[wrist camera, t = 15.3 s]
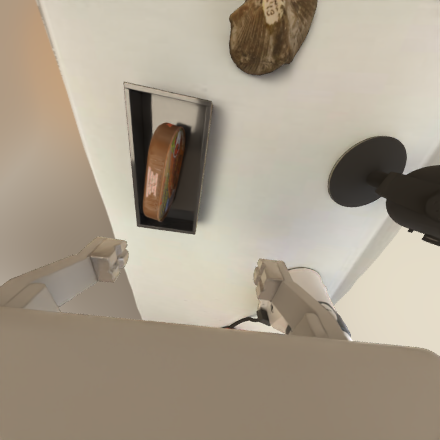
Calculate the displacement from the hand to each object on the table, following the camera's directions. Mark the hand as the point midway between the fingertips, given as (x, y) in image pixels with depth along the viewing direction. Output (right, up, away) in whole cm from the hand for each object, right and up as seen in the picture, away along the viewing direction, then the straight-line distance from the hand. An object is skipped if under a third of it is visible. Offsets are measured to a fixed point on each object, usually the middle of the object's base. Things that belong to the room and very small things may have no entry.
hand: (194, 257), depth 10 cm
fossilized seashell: (+8, +26, +11) cm, 29 cm away
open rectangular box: (-7, +12, +20) cm, 24 cm away
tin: (-7, +11, +19) cm, 23 cm away
